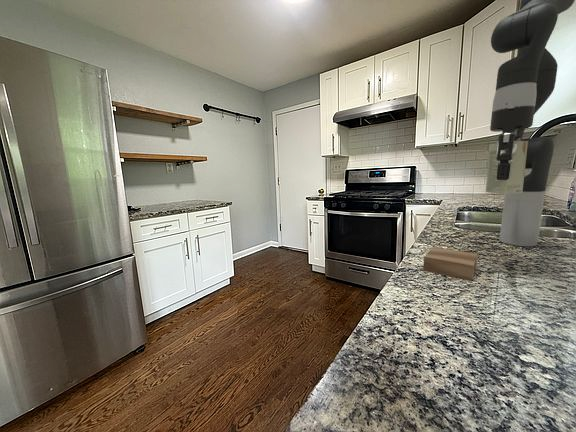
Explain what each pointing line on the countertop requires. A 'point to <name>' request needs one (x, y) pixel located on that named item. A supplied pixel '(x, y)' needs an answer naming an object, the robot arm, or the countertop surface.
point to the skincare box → (516, 171)
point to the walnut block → (451, 263)
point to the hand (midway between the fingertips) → (503, 179)
